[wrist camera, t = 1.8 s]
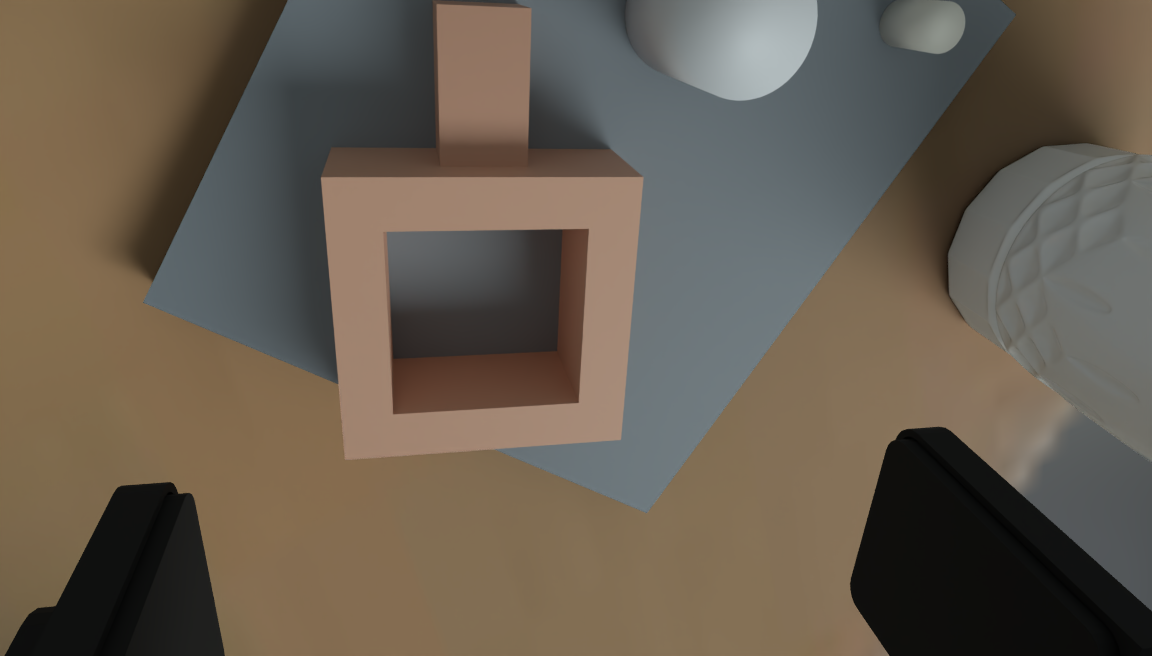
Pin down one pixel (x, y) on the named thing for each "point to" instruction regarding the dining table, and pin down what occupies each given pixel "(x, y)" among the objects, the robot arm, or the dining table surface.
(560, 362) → the square frame with tab
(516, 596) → the dining table surface
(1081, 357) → the white cup
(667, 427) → the board
